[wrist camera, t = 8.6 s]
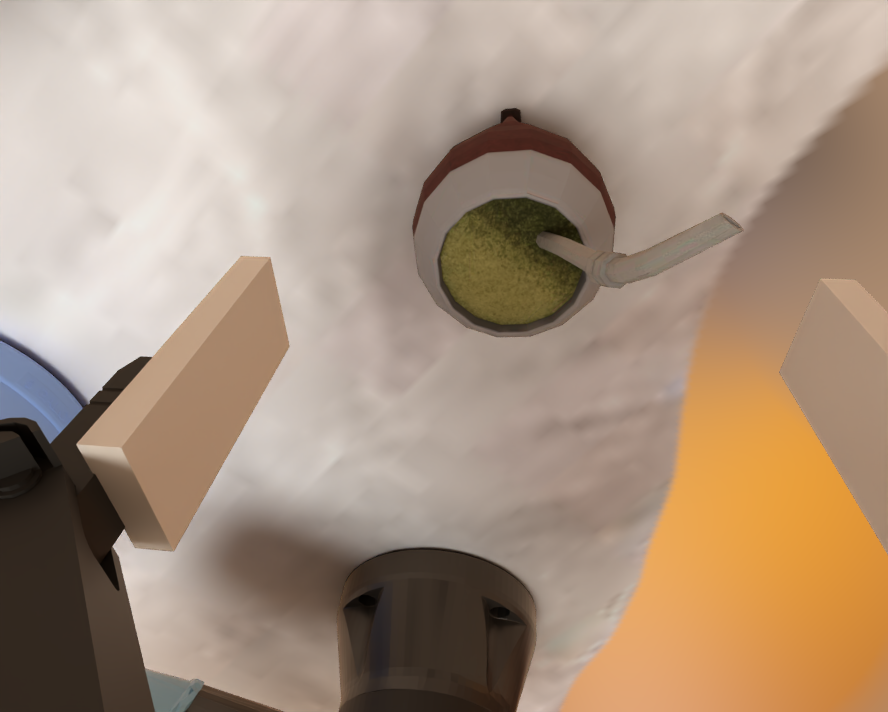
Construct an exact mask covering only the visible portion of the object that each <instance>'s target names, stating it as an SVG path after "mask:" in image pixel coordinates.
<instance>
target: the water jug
mask: <svg viewBox="0 0 888 712" xmlns="http://www.w3.org/2000/svg"><path fill="white" fill-rule="evenodd" d="M82 409H83V408H82V406H81V405H80V403H79V402H78V401H77V400H76V398H75V397H74V396H73V395H72V394H71V393H70V392H69V390H68V389H67V388H66V387H65V386H64V385H63V384H62V383H61V382H60V381H58V380H57V379H56V378H55V377H54V376H53V375H52V374H51V373H49V372H48V371H47V370H46V369H44V368H43V367H42V366H40V365H39V364H38V363H36V362H35V361H34V360H32V359H31V358H29V357H28V356H26V355H25V354H23V353H22V352H20V351H18V350H17V349H15V348H13V347H11V346H10V345H8V344H6V343H4V342H2V341H0V420H2V419H6V418H23V417H25V418H28V419H31V420H34V421H36V422H37V424H38V425H39V427H40V428H41V430H42V432H43V433H44V435H45V437H46V438H47V440H48V442H49V443H51V442H52V441H53V440H54V439H55V438H56V437H57V436H58V435H59V434H60V433H61V431H62V430H63V429H64V428H65V427H66V426H67V425H68V424H69V423H70V422H71V421H72V420H73V419H74V417H75V416H76V415H77V414H78V413H79V412H80V411H81V410H82Z"/></svg>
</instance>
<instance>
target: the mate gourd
mask: <svg viewBox="0 0 888 712" xmlns="http://www.w3.org/2000/svg"><path fill="white" fill-rule="evenodd" d="M615 219H616V216H615V211H614V207H613V204H612V202H611V199H610V197H609V194H608V191H607V189H606V186H605V184H604V181H603V179H602V176H601V174H600V172H599V170H598V169H597V168H596V167H595V166H594V165H593V164H592V163H591V162H590V161H589V160H588V159H587V158H586V157H585V156H584V155H583V154H582V153H581V152H580V151H579V150H578V149H577V148H576V147H575V146H574V145H573V144H572V143H571V142H570V141H569V140H568V139H567V138H564V137H561V136H559V135H556V134H553V133H551V132H548V131H545V130H543V129H540V128H537V127H535V126H532V125H529V124H525V123H521V115H520V110H518V109H516V108H513V109H505V110H503V111H502V112H501V123H500V124H498V125H495V126H492V127H490V128H488V129H486V130H484V131H482V132H480V133H478V134H477V135H475V136H473V137H471V138H469V139H467V140H465V141H463V142H461V143H459V144H458V145H456V146H454V147H453V148H452V149H451V150H450V152H449V153H448V154H447V155H446V156H445V158H444V159H443V160H442V161H441V162H440V164H439V165H438V166H437V167H436V169H435V170H434V171H433V172H432V173H431V175H430V176H429V177H428V178H427V179H426V181H425V182H424V185H423V188H422V191H421V195H420V198H419V202H418V205H417V209H416V212H415V216H414V219H413V227H412V228H413V236H414V238H413V239H414V246H415V254H416V261H417V269H418V274H419V276H420V278H421V279H422V281H423V283H424V284H425V286H426V288H427V289H428V291H429V293H430V294H431V296H432V298H433V299H434V301H435V303H436V304H437V305H438V306H439V307H440V308H442V309H443V310H444V311H446V312H447V313H448V314H450V315H451V316H452V317H453V318H455V319H456V320H457V321H459V322H460V323H461V324H463V325H464V326H465V327H467V328H470V329H473V330H476V331H479V332H482V333H486V334H489V335H492V336H495V337H527V336H533V335H536V334H539V333H541V332H544V331H547V330H550V329H552V328H555V327H558V326H560V325H563V324H564V323H565V322H566V321H568V320H569V319H570V318H571V317H572V316H574V315H575V314H576V313H577V312H578V311H580V310H581V309H582V308H583V307H585V306H586V305H587V304H588V303H589V302H591V301H592V300H593V298H594V297H595V295H596V293H597V291H598V289H599V288H600V286H605V287H612V288H621V287H623V286H624V285H625V284H626V283H632V282H635V281H639V280H642V279H645V278H649V277H652V276H655V275H657V274H659V273H661V272H663V271H665V270H667V269H669V268H671V267H673V266H675V265H677V264H679V263H681V262H683V261H685V260H687V259H689V258H691V257H693V256H695V255H697V254H699V253H701V252H703V251H705V250H707V249H708V248H710V247H712V246H714V245H716V244H718V243H720V242H722V241H724V240H726V239H728V238H730V237H732V236H734V235H736V234H738V233H740V232H742V231H744V230H743V228H742V227H741V226H740V224H738V223H737V222H736V221H735V220H733V219H732V218H731V217H729V216H727V215H726V214H724V213H720V214H718V215H716V216H714V217H712V218H710V219H708V220H706V221H704V222H702V223H700V224H698V225H696V226H694V227H692V228H690V229H688V230H686V231H684V232H682V233H679V234H677V235H675V236H673V237H671V238H669V239H667V240H665V241H663V242H661V243H659V244H657V245H655V246H653V247H651V248H649V249H647V250H644V251H641V252H638V253H635V254H632V255H629V256H627V255H626V254H621V253H614V252H613V243H614V231H615Z"/></svg>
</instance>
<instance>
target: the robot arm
mask: <svg viewBox="0 0 888 712" xmlns="http://www.w3.org/2000/svg"><path fill="white" fill-rule="evenodd" d="M288 348H289V341H288V336H287V332H286V327H285V323H284V318H283V313H282V309H281V304H280V300H279V295H278V291H277V286H276V281H275V277H274V272H273V268H272V263H271V258H270V257H249V256H241V257H240V258H239V259H238V260H237V261H236V263H235V264H234V265H233V266H232V267H231V268H230V269H229V271H228V272H227V273H226V274H225V275H224V276H223V277H222V279H221V280H220V281H219V282H218V283H217V284H216V285H215V287H214V288H213V289H212V290H211V291H210V292H209V293H208V295H207V296H206V297H205V298H204V299H203V300H202V301H201V303H200V304H199V305H198V306H197V307H196V308H195V309H194V310H193V312H192V313H191V314H190V315H189V316H188V317H187V318H186V320H185V321H184V322H183V323H182V324H181V325H180V326H179V328H178V329H177V330H176V331H175V332H174V333H173V334H172V336H171V337H170V338H169V339H168V340H167V341H166V342H165V344H164V345H163V346H162V347H161V348H160V349H159V350H158V352H157V353H156V354H155V355H154V356H153V357H139V358H137V359H136V360H134V361H133V362H131V363H129V364H128V365H126V366H125V367H123V368H121V369H120V370H118V371H117V372H116V373H115V374H114V376H113V377H112V378H111V379H110V380H109V381H108V382H107V383H106V384H105V385H104V386H103V387H102V388H103V390H102V391H99V392H98V393H97V394H96V395H95V396H94V397H93V398H92V399H91V400H90V404H89V405H86V406H85V407H84V408H83V409H82V410H81V411H80V412H79V413H78V414H77V415H76V416H75V417H74V419H73V420H72V421H71V422H70V423H69V424H68V425H67V426H66V427H65V428H64V429H63V430H62V431H61V433H60V434H59V435H58V436H57V437H56V438H55V439H54V440H53V441H52V442H51V443H49V442H48V440H47V438H46V437H45V435H44V433H43V432H42V430H41V428H40V427H39V425H38V424H37V422H36V421H34V420H31V419H28V418H25V417H23V418H6V419H2V420H0V712H284V711H281V710H278V709H275V708H272V707H269V706H266V705H263V704H260V703H257V702H254V701H251V700H248V699H245V698H242V697H239V696H236V695H233V694H230V693H227V692H224V691H221V690H218V689H215V688H212V687H209V686H206V685H204V682H203V681H201V680H199V679H193V680H191V681H189V680H185V679H181V678H178V677H174V676H170V675H167V674H163V673H159V672H156V671H152V670H149V669H145V667H144V663H143V658H142V654H141V650H140V646H139V641H138V637H137V633H136V629H135V624H134V620H133V616H132V612H131V608H130V603H129V599H128V595H127V591H126V586H125V582H124V578H123V574H122V569H121V565H120V561H119V557H118V555H117V553H116V552H115V550H114V548H113V547H112V546H113V545H114V543H115V542H116V540H117V539H118V537H119V536H120V534H121V533H122V531H123V530H124V529H125V531H126V533H127V535H128V536H129V538H130V540H131V542H132V543H133V545H134V547H135V548H141V549H152V550H163V551H174V550H175V548H176V546H177V545H178V543H179V541H180V539H181V538H182V536H183V534H184V532H185V530H186V529H187V527H188V525H189V523H190V522H191V520H192V518H193V516H194V515H195V513H196V511H197V509H198V507H199V506H200V504H201V502H202V500H203V499H204V497H205V495H206V493H207V492H208V490H209V488H210V486H211V484H212V483H213V481H214V479H215V477H216V476H217V474H218V472H219V470H220V469H221V467H222V465H223V463H224V461H225V460H226V458H227V456H228V454H229V453H230V451H231V449H232V447H233V446H234V444H235V442H236V440H237V438H238V437H239V435H240V433H241V431H242V430H243V428H244V426H245V424H246V423H247V421H248V419H249V417H250V415H251V414H252V412H253V410H254V408H255V407H256V405H257V403H258V401H259V400H260V398H261V396H262V394H263V392H264V391H265V389H266V387H267V385H268V384H269V382H270V380H271V378H272V376H273V375H274V373H275V371H276V369H277V368H278V366H279V364H280V362H281V361H282V359H283V357H284V355H285V353H286V352H287V350H288ZM779 373H780V375H781V376H782V378H783V380H784V381H785V383H786V385H787V386H788V388H789V390H790V391H791V393H792V395H793V396H794V398H795V400H796V401H797V403H798V405H799V406H800V408H801V410H802V411H803V413H804V415H805V416H806V418H807V420H808V421H809V423H810V425H811V427H812V428H813V430H814V431H815V433H816V435H817V437H818V438H819V440H820V442H821V443H822V445H823V447H824V448H825V450H826V451H827V453H828V455H829V457H830V458H831V460H832V462H833V463H834V465H835V467H836V468H837V470H838V472H839V474H840V475H841V477H842V479H843V480H844V482H845V484H846V485H847V487H848V489H849V490H850V492H851V493H852V495H853V497H854V499H855V500H856V502H857V504H858V505H859V507H860V509H861V510H862V512H863V514H864V515H865V517H866V519H867V520H868V522H869V524H870V525H871V527H872V529H873V530H874V532H875V534H876V536H877V537H878V539H879V540H880V542H881V544H882V545H883V547H884V549H885V551H886V552H887V554H888V312H887V311H886V310H885V309H884V308H883V307H882V306H881V305H880V304H879V303H878V302H877V301H876V300H875V299H874V298H873V297H872V296H871V295H870V294H869V293H868V292H867V291H866V290H865V289H864V288H863V287H862V286H861V285H860V284H859V283H858V282H857V281H856V280H849V279H824V278H820V280H819V282H818V285H817V287H816V289H815V292H814V294H813V296H812V298H811V301H810V303H809V305H808V308H807V310H806V312H805V314H804V317H803V319H802V321H801V324H800V326H799V328H798V330H797V333H796V335H795V337H794V340H793V342H792V344H791V347H790V349H789V351H788V353H787V356H786V358H785V360H784V362H783V365H782V367H781V370H780V372H779ZM337 633H338V651H339V669H340V687H341V702H340V707H339V712H516V710H517V707H518V703H519V700H520V697H521V693H522V690H523V687H524V683H525V680H526V677H527V673H528V670H529V667H530V663H531V660H532V656H533V653H534V650H535V645H536V609H535V605H534V602H533V599H532V597H531V595H530V594H529V592H528V591H527V590H526V588H525V587H524V586H523V585H522V584H521V583H520V582H519V581H518V580H517V579H515V578H514V577H513V576H511V575H510V574H509V573H507V572H505V571H504V570H502V569H500V568H499V567H497V566H495V565H492V564H490V563H488V562H485V561H483V560H480V559H477V558H474V557H471V556H467V555H463V554H459V553H454V552H448V551H440V550H406V551H398V552H393V553H388V554H385V555H381V556H378V557H376V558H373V559H371V560H369V561H367V562H365V563H363V564H362V565H360V566H359V567H358V568H356V569H355V570H354V571H353V572H352V573H351V574H350V576H349V577H348V579H347V580H346V583H345V585H344V589H343V593H342V597H341V600H340V604H339V608H338V613H337Z"/></svg>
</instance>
